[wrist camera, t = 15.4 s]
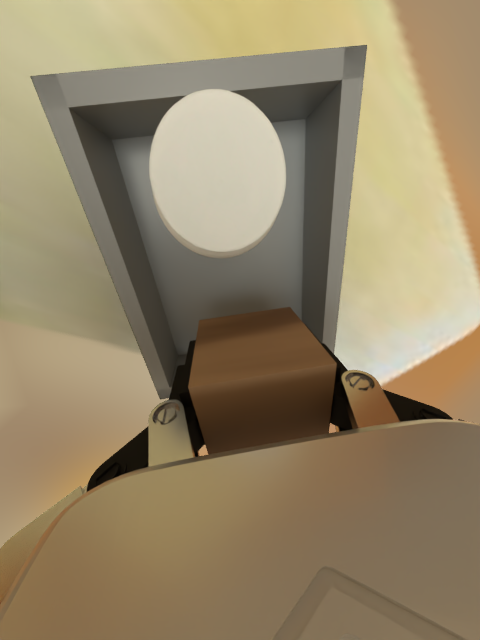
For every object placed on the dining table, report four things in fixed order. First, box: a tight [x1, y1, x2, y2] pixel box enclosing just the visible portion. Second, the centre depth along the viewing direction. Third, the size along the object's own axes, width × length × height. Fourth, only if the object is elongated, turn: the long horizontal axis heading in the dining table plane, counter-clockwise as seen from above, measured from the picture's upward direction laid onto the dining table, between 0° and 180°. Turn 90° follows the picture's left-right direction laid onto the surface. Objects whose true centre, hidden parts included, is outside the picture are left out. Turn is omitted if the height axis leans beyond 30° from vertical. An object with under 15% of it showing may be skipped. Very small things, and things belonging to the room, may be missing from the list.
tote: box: [30, 45, 367, 399], centre depth 15 cm, size 14×18×5 cm
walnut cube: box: [188, 307, 337, 455], centre depth 10 cm, size 5×5×5 cm
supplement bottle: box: [149, 89, 286, 258], centre depth 10 cm, size 5×5×10 cm
